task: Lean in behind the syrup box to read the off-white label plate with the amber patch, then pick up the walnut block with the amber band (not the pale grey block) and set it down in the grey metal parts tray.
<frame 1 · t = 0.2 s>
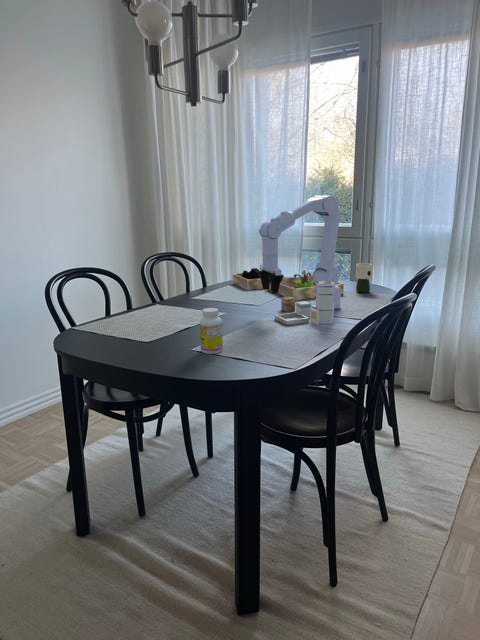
hand: (270, 291, 178), 10 cm above the table, tool pointing down, fingers open, 7 cm apart
parts tray: (291, 321, 173), on the table
grey block: (303, 315, 181), on the table
syrup box: (325, 322, 172), on the table
walnut block: (288, 310, 189), on the table
plant: (303, 294, 220), resting in oak planter frame
supplement bottle: (211, 351, 143), on the table
film camera: (256, 285, 241), resting in shallow wooden crate
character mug: (362, 292, 220), on the table
shallow wooden crate: (257, 285, 240), on the table
oak planter frame: (304, 292, 222), on the table
label plate: (314, 323, 170), on the table
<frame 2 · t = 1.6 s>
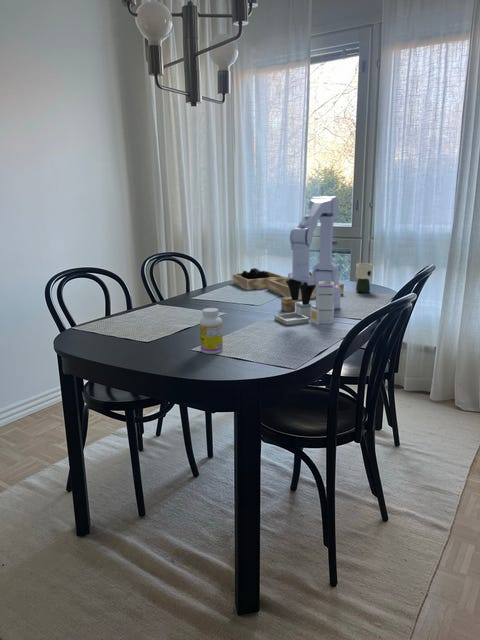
hand: (300, 302, 166), 8 cm above the table, tool pointing down, fingers open, 7 cm apart
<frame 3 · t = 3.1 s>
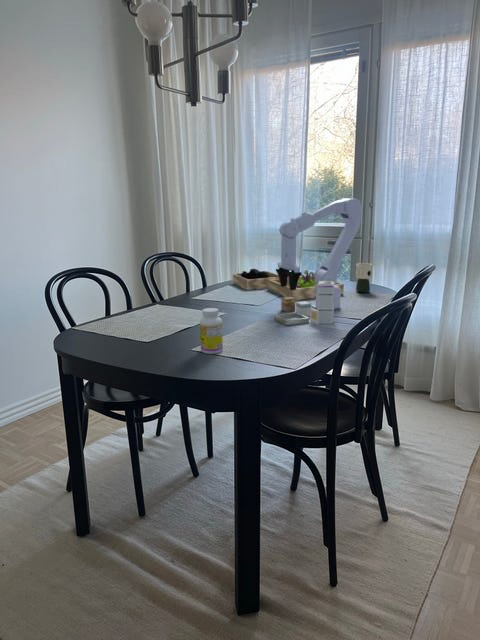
hand: (288, 288, 187), 9 cm above the table, tool pointing down, fingers open, 7 cm apart
film camera: (256, 286, 239), resting in shallow wooden crate
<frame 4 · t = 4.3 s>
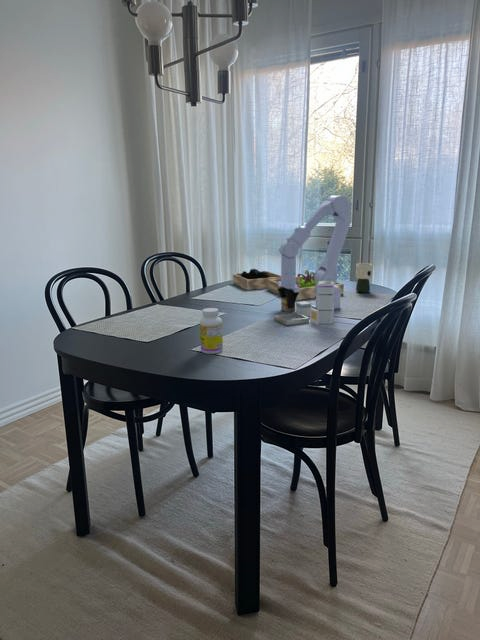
hand: (288, 306, 189), 1 cm above the table, tool pointing down, fingers closed on walnut block, 4 cm apart
walnut block: (288, 310, 189), on the table, touching gripper
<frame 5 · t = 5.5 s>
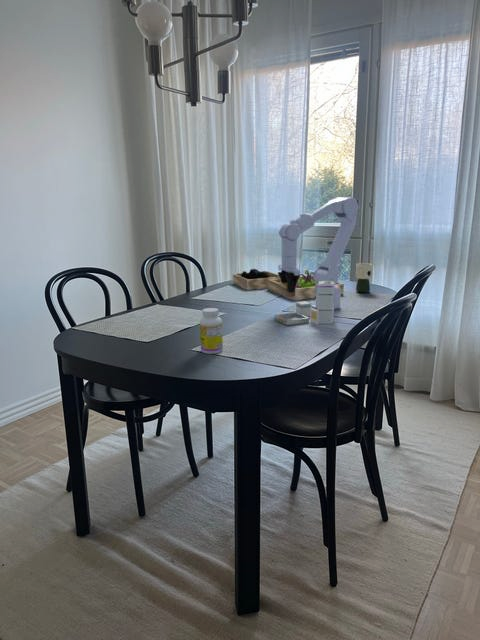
hand: (288, 291, 184), 8 cm above the table, tool pointing down, fingers closed on walnut block, 4 cm apart
walnut block: (288, 295, 185), point 7 cm above the table, touching gripper
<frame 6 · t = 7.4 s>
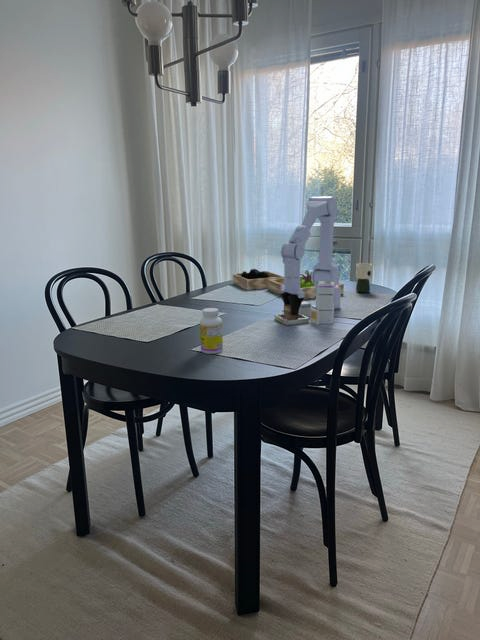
hand: (291, 313, 173), 3 cm above the table, tool pointing down, fingers closed on walnut block, 4 cm apart
walnut block: (290, 318, 173), point 1 cm above the table, touching gripper
when the fingers open (3 cm above the table, at t = 7.6 s): walnut block stays where it is, resting on parts tray.
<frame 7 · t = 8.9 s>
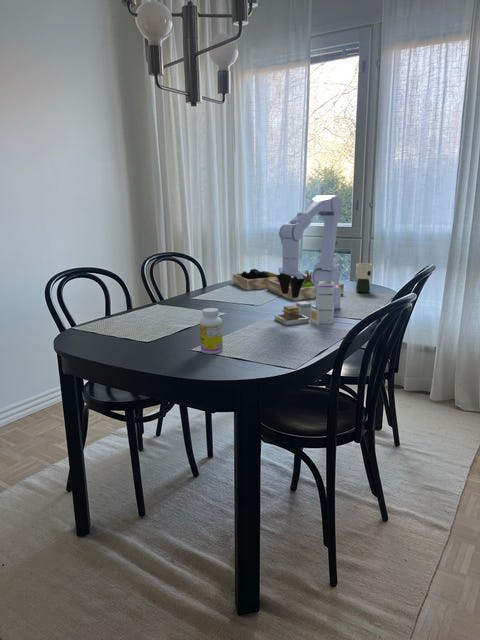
hand: (290, 295, 172), 9 cm above the table, tool pointing down, fingers open, 7 cm apart
walnut block: (291, 320, 173), resting on parts tray
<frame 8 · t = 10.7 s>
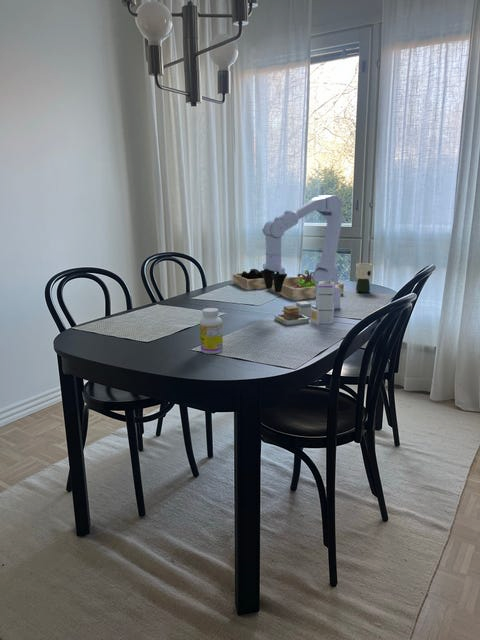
hand: (273, 290, 179), 10 cm above the table, tool pointing down, fingers open, 7 cm apart
at the end: walnut block 0.2 cm off-centre on the parts tray, point 0.3 cm above the parts tray's base; walnut block tilted 0°; grey block moved 0.1 cm from its start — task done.
